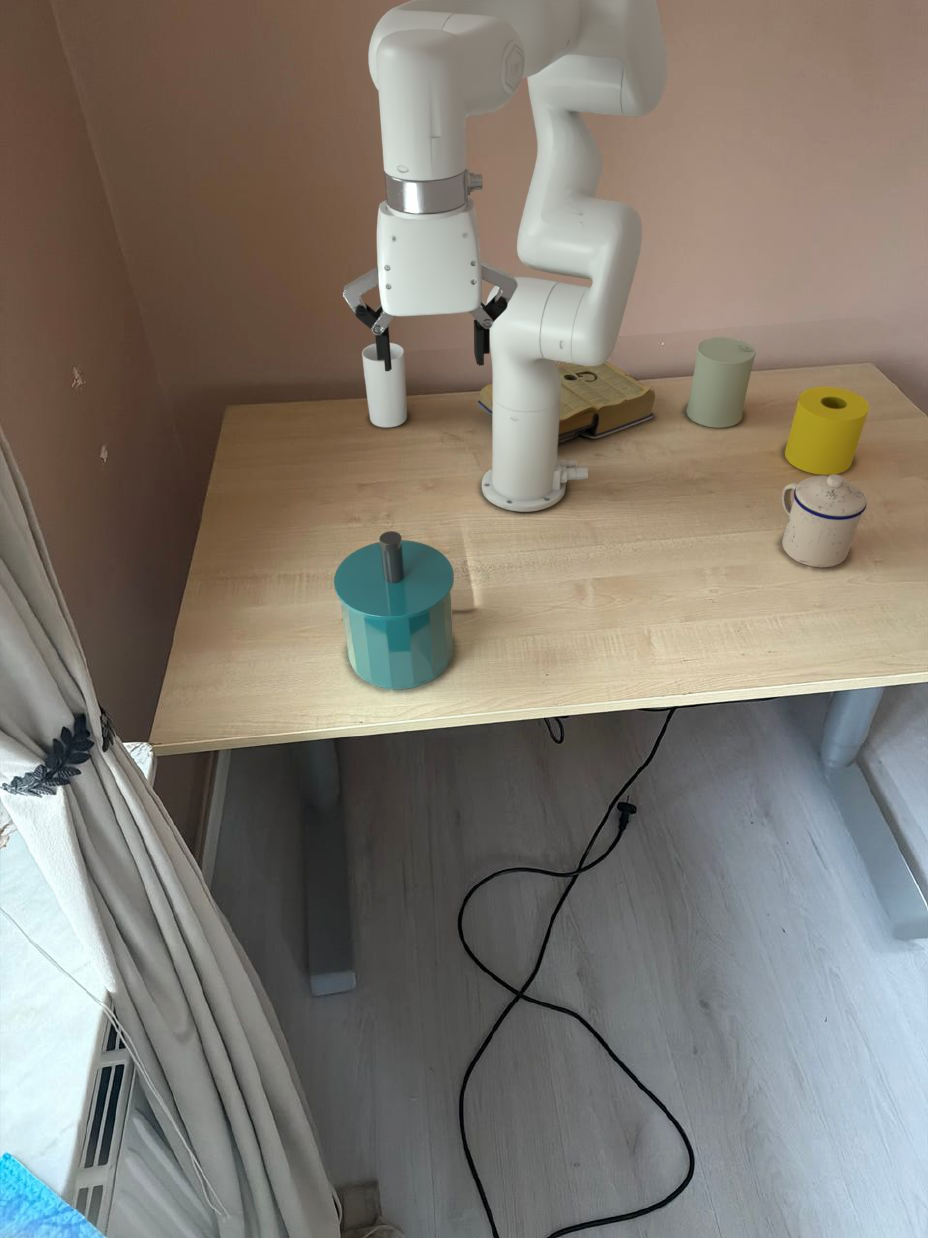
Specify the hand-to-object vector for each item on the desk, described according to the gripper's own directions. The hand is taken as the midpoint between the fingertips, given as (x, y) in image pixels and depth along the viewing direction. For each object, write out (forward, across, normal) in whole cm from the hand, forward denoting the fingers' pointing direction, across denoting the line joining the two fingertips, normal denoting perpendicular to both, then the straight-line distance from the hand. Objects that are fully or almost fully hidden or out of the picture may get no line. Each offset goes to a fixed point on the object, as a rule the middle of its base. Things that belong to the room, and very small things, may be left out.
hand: (433, 362), depth 94 cm
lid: (+22, +6, +9) cm, 24 cm away
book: (+34, -24, -44) cm, 60 cm away
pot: (+33, +6, +9) cm, 35 cm away
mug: (+34, +6, -49) cm, 60 cm away
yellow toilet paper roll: (+34, -61, -27) cm, 75 cm away
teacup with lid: (+34, -51, -6) cm, 61 cm away
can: (+34, -49, -42) cm, 73 cm away
